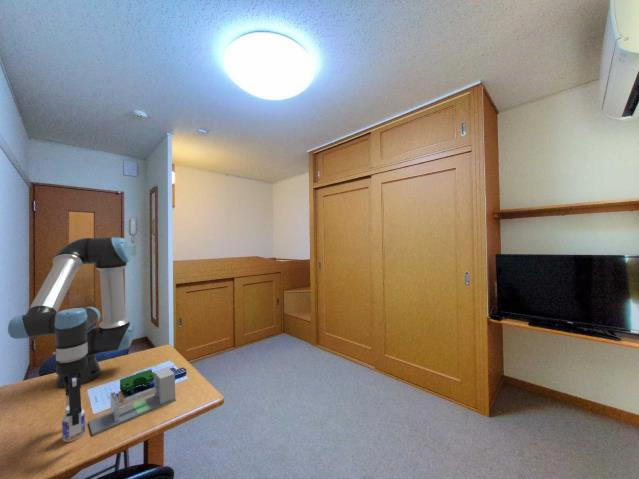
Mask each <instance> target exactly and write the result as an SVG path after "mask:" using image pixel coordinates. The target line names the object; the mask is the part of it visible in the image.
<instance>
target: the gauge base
mask: <svg viewBox="0 0 639 479" xmlns="http://www.w3.org/2000/svg"><path fill="white" fill-rule="evenodd" d="M153 374H154V380H153V382H154V384H153V385H154V387H156V386H158V387H159V392H157V393H154V394H153V395H150V396H149V397H148V396H147V397H145V398H144V399H143V398H142V399H139V400H137V401H136V402H135V401H134V402H132V403H131V404H129V405H128V404H127V405H124V407H123V406H122V407H121V408H120V407H119V420H118V421H114V419H113V416H112V414H111V411H110V412H107V413H104V414H103V415H99V416H97V417H95V418H93V419H89V420H88V425H89V429H90V432H91V436H92V437H94V436H96V435H98V434H101V433H103V432H105V431H108V430H110V429H113V428H115V427H117V426H120V425H122V424H124V423H126V422H129V421H131V420H133V419H136V418H138V417H141V416H143V415H145V414H148V413H150V412H152V411H155V410H157V409H159V408H162V407H164V406H166V405H169V404H171V403H174V402H176V400H177V399H176V377H175V376H176V374H175V372H174V371H172V369H170V368H169V367H168V366H167V367H165V368H162V369H158V370H156V371H153Z"/></svg>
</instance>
